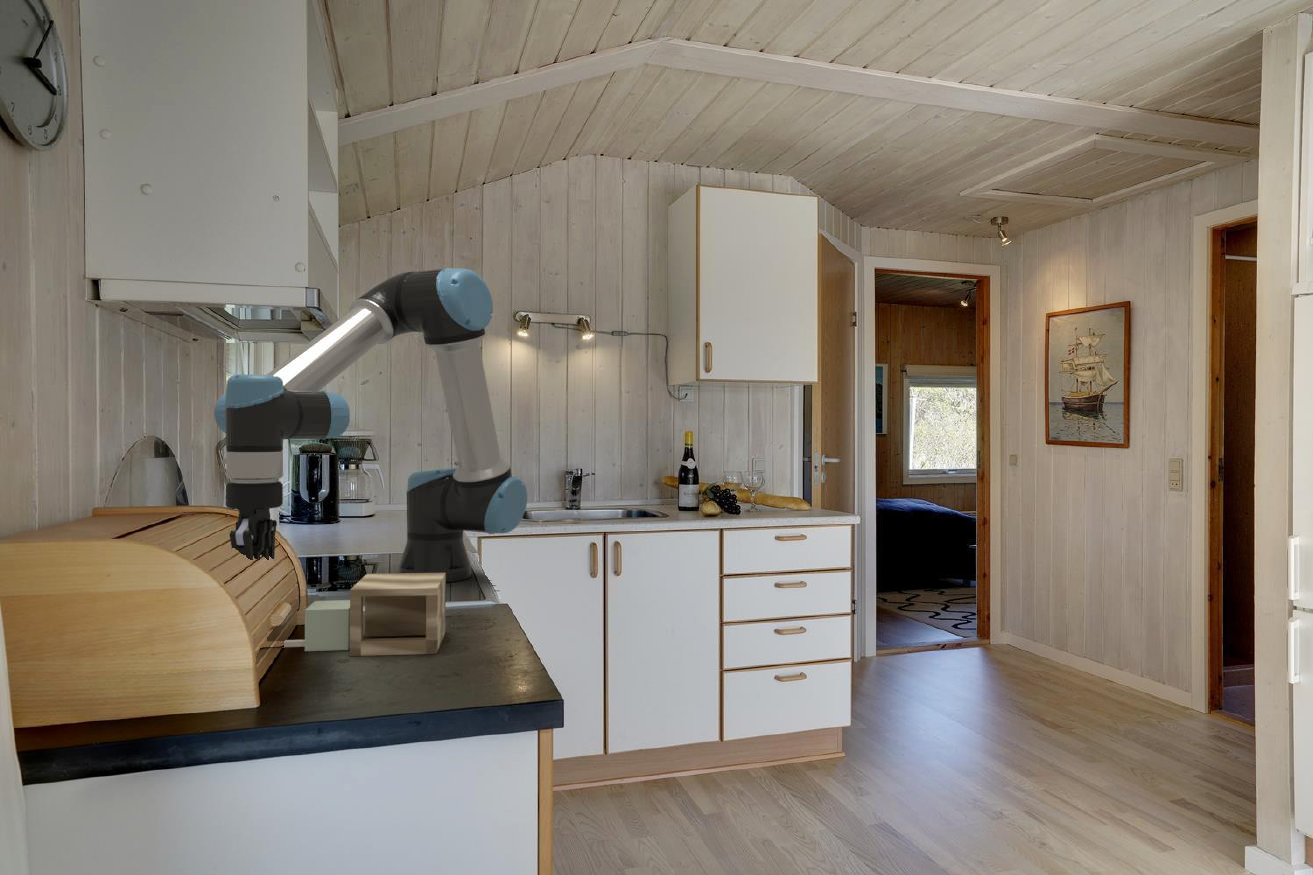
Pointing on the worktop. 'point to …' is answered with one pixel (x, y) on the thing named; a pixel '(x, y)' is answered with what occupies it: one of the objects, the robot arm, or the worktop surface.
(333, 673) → the worktop surface
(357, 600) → the open wooden box
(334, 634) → the block with rod
